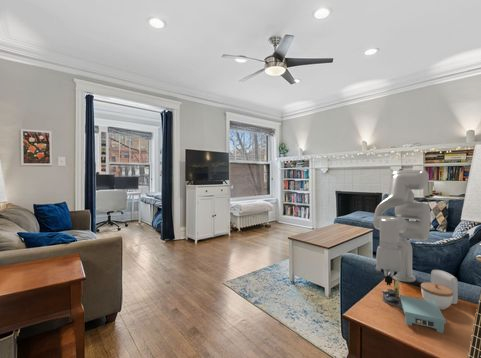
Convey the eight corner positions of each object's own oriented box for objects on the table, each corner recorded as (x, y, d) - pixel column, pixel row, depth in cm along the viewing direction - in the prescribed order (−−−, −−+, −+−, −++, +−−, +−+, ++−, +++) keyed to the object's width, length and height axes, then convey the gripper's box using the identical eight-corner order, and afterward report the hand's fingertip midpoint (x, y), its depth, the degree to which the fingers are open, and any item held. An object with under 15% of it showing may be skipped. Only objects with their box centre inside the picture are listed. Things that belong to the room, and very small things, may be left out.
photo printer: (428, 293, 113) (429, 267, 113) (436, 292, 114) (436, 267, 113) (451, 305, 103) (451, 276, 102) (459, 304, 103) (460, 276, 103)
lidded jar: (459, 314, 96) (459, 291, 96) (429, 311, 98) (429, 288, 98) (442, 300, 106) (442, 279, 106) (415, 298, 109) (415, 277, 108)
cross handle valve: (388, 292, 113) (388, 276, 113) (405, 298, 107) (405, 282, 107) (377, 297, 107) (377, 282, 107) (394, 305, 101) (394, 288, 101)
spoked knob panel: (381, 295, 111) (381, 285, 111) (431, 305, 102) (431, 294, 102) (384, 320, 92) (384, 308, 92) (446, 335, 83) (446, 321, 83)
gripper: (407, 245, 110) (407, 284, 111) (370, 241, 118) (370, 277, 118) (409, 249, 104) (409, 291, 104) (370, 244, 111) (370, 283, 111)
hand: (388, 284), depth 111 cm, fingers closed
